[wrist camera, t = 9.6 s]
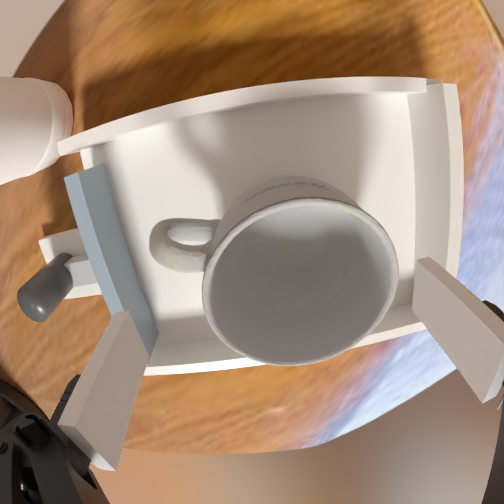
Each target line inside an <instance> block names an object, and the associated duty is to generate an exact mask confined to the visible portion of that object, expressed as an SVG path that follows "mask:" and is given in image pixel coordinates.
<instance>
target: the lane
mask: <svg viewBox="0 0 504 504" xmlns="http://www.w3.org/2000/svg"><path fill="white" fill-rule="evenodd" d="M57 147H58V151H59V156H63V155H67V154H71V153H75V152H80V154H81V158H82V162H83V167H84V170H86V169H89V168H92V167H95V166H98V165H101V164H104V165H105V169H106V173H107V177H108V181H109V185H110V189H111V192H112V196H113V200H114V203H115V207H116V211H117V214H118V218H119V221H120V224H121V228H122V231H123V234H124V238H125V241H126V244H127V247H128V250H129V253H130V256H131V259H132V262H133V265H134V268H135V271H136V274H137V277H138V280H139V282H140V285H141V288H142V291H143V294H144V296H145V299H146V302H147V304H148V307H149V309H150V312H151V315H152V317H153V320H154V322H155V325H156V327H157V330H158V332H159V335H158V338H157V341H156V344H155V346H154V349H153V352H152V355H151V358H150V361H149V363H148V364H147V366H146V369H145V372H144V375H164V374H180V373H193V372H204V371H214V370H224V369H233V368H241V367H249V366H256V365H263V364H265V363H260V362H257V361H254V360H251V359H249V358H247V357H245V356H243V355H241V354H239V353H237V352H235V351H234V350H232V349H231V348H230V347H228V346H227V345H226V344H225V343H223V342H222V341H221V340H220V339H219V338H218V336H217V335H216V334H215V333H214V331H213V330H212V328H211V326H210V325H209V323H208V320H207V318H206V315H205V313H204V309H203V303H202V281H203V275H204V272H194V273H185V272H177V271H174V270H170V269H168V268H166V267H164V266H162V265H160V264H159V263H158V262H157V261H156V260H155V259H154V258H153V257H152V255H151V253H150V250H149V239H150V234H151V231H152V229H153V227H154V226H155V225H156V224H157V223H158V222H160V221H162V220H165V219H170V218H192V219H205V220H211V219H222V218H223V216H224V214H225V213H226V211H227V210H228V208H229V207H230V206H231V205H232V204H233V202H234V201H235V200H236V199H237V198H238V197H240V196H241V195H242V194H243V193H244V192H246V191H247V190H249V189H251V188H252V187H254V186H256V185H258V184H260V183H262V182H264V181H267V180H271V179H274V178H279V177H286V176H303V177H309V178H314V179H317V180H320V181H323V182H326V183H328V184H330V185H332V186H334V187H336V188H337V189H339V190H340V191H342V192H343V193H345V194H346V195H347V196H348V197H350V198H351V199H352V200H353V201H354V202H355V203H356V204H358V205H359V206H360V207H361V208H362V209H363V210H364V211H365V212H367V213H368V214H370V215H371V216H372V217H373V218H375V219H376V220H377V221H378V222H379V223H380V224H381V225H382V227H383V228H384V229H385V231H386V232H387V234H388V235H389V237H390V239H391V241H392V243H393V245H394V248H395V250H396V255H397V259H398V265H399V280H398V286H397V290H396V293H395V297H394V300H393V302H392V304H391V306H390V308H389V310H388V311H387V313H386V314H385V316H384V319H383V320H382V321H381V322H380V324H379V325H378V326H377V327H376V328H375V329H374V330H373V331H372V332H371V333H370V334H369V335H368V336H367V337H365V338H364V339H363V340H362V341H360V342H359V343H358V344H356V345H355V346H354V347H352V348H355V347H359V346H364V345H368V344H372V343H376V342H380V341H384V340H388V339H392V338H396V337H399V336H403V335H407V334H410V333H414V332H417V331H421V330H424V329H427V328H426V327H425V326H424V324H423V323H422V322H421V321H420V319H419V318H418V317H417V316H416V314H415V313H414V312H413V311H412V302H413V292H414V281H415V267H416V260H417V259H421V258H425V257H430V258H432V259H433V260H434V261H435V262H436V263H438V264H439V265H440V266H441V267H443V268H444V269H445V270H446V271H447V272H449V273H450V274H451V275H452V276H453V277H455V278H456V279H457V272H458V264H459V255H460V246H461V234H462V220H463V194H464V168H463V143H462V128H461V117H460V108H459V100H458V92H457V86H456V84H447V83H439V79H431V78H415V77H340V78H323V79H311V80H300V81H290V82H282V83H274V84H266V85H260V86H253V87H247V88H241V89H235V90H230V91H224V92H219V93H214V94H210V95H205V96H200V97H196V98H192V99H187V100H183V101H179V102H175V103H171V104H168V105H164V106H160V107H157V108H153V109H149V110H146V111H143V112H139V113H136V114H133V115H130V116H127V117H123V118H120V119H117V120H114V121H112V122H109V123H106V124H103V125H100V126H97V127H95V128H92V129H89V130H87V131H84V132H82V133H79V134H76V135H74V136H71V137H69V138H67V139H64V140H62V141H59V142H57ZM176 242H179V243H181V244H186V245H202V244H205V243H206V242H195V241H176ZM39 244H40V247H41V250H42V253H43V255H44V258H45V261H46V263H47V264H48V263H49V262H50V261H51V260H52V259H54V258H55V257H56V256H57V255H58V254H60V253H68V254H71V255H72V256H74V257H76V256H81V255H85V254H87V253H86V250H85V247H84V244H83V241H82V238H81V235H80V232H79V229H78V228H74V229H71V230H67V231H63V232H60V233H56V234H52V235H49V236H45V237H43V238H42V239H40V240H39ZM99 294H102V292H101V290H100V287H99V285H98V283H95V284H89V285H83V286H76V287H74V288H73V289H72V290H71V291H70V292H69V293H68V294H67V295H66V297H65V298H64V299H70V298H77V297H85V296H92V295H99ZM427 330H428V329H427ZM430 334H431V333H430ZM431 335H432V334H431ZM433 338H434V337H433ZM434 339H435V338H434ZM350 349H351V348H350ZM144 375H143V376H144Z"/></svg>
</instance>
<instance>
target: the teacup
mask: <svg viewBox="0 0 504 504" xmlns="http://www.w3.org/2000/svg"><path fill="white" fill-rule="evenodd" d="M176 241H195V242H206V243H205V244H202V245H186V244H181V243H179V242H176ZM149 250H150V253H151V255H152V257H153V258H154V259H155V260H156V261H157V262H158V263H159V264H160V265H162V266H164V267H166V268H168V269H170V270H174V271H177V272H185V273H194V272H204V275H203V281H202V303H203V309H204V313H205V315H206V318H207V320H208V323H209V325H210V326H211V328H212V330H213V331H214V333H215V334H216V335H217V336H218V338H219V339H220V340H221V341H222V342H223V343H225V344H226V345H227V346H228V347H230V348H231V349H232V350H234V351H235V352H237V353H239V354H241V355H243V356H245V357H247V358H249V359H251V360H254V361H257V362H260V363H265V364H270V365H276V366H298V365H307V364H313V363H317V362H321V361H324V360H327V359H330V358H333V357H335V356H337V355H339V354H341V353H343V352H345V351H347V350H349V349H350V348H352V347H354V346H355V345H356V344H358V343H359V342H360V341H362V340H363V339H364V338H365V337H367V336H368V335H369V334H370V333H371V332H372V331H373V330H374V329H375V328H376V327H377V326H378V325H379V324H380V322H381V321H382V320H383V319H384V316H385V314H386V313H387V311H388V310H389V308H390V306H391V304H392V302H393V300H394V297H395V293H396V290H397V286H398V280H399V265H398V259H397V255H396V250H395V248H394V245H393V243H392V241H391V239H390V237H389V235H388V234H387V232H386V231H385V229H384V228H383V227H382V225H381V224H380V223H379V222H378V221H377V220H376V219H375V218H373V217H372V216H371V215H370V214H368V213H367V212H365V211H364V210H363V209H362V208H361V207H360V206H359V205H358V204H356V203H355V202H354V201H353V200H352V199H351V198H350V197H348V196H347V195H346V194H345V193H343V192H342V191H340V190H339V189H337V188H336V187H334V186H332V185H330V184H328V183H326V182H323V181H320V180H317V179H314V178H309V177H303V176H286V177H279V178H274V179H271V180H267V181H264V182H262V183H260V184H258V185H256V186H254V187H252V188H251V189H249V190H247V191H246V192H244V193H243V194H242V195H241V196H240V197H238V198H237V199H236V200H235V201H234V202H233V204H232V205H231V206H230V207H229V208H228V210H227V211H226V213H225V214H224V216H223V218H222V219H211V220H205V219H192V218H170V219H165V220H162V221H160V222H158V223H157V224H156V225H155V226H154V227H153V229H152V231H151V234H150V239H149Z"/></svg>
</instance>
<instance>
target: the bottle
mask: <svg viewBox="0 0 504 504" xmlns="http://www.w3.org/2000/svg"><path fill="white" fill-rule="evenodd" d="M72 126H73V112H72V104H71V102H70V100H69V98H68V95H67V93H66V91H64V90H63V89H62V88H61V87H60V86H59V85H58V84H57V83H53V82H49V81H44V80H40V79H35V78H11V77H0V185H1V184H4V183H6V182H9V181H12V180H14V179H17V178H20V177H26V176H29V175H32V174H34V173H36V172H38V171H40V170H43V169H45V168H47V167H49V166H50V165H52V164H54V163H55V162H56V161H57V160H58V159H59V157H60V156H59V151H58V147H57V142H59V141H62V140H64V139H67V138H69V137H71V133H72Z"/></svg>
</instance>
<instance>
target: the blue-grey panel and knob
mask: <svg viewBox="0 0 504 504" xmlns="http://www.w3.org/2000/svg"><path fill="white" fill-rule="evenodd" d="M64 181H65V184H66V188H67V192H68V196H69V199H70V203H71V206H72V210H73V213H74V216H75V220H76V223H77V226H78V229H79V232H80V235H81V238H82V241H83V244H84V247H85V250H86V253H87V254H85V255H81V256H76V257H74V256H72V255H71V254H68V253H60V254H58V255H57V256H56V257H55V258H54V259H52V260H51V261H50V262H49V263H48V264H47V265H45V266H44V267H43V268H42V269H41V270H40V271H39V272H37V273H36V274H35V275H34V276H33V277H32V278H31V279H30V280H29V281H27V282H26V283H25V284H24V285H23V286H22V287H21V288H20V289H19V290H18V293H17V299H18V303H19V306H20V308H21V309H22V311H23V312H24V313H25V315H26V316H28V317H29V318H30V319H32V320H33V321H36V322H43V321H45V320H46V319H47V318H48V317H49V315H50V314H51V313H52V312H53V311H54V309H55V308H56V307H57V306H58V305H59V303H60V302H61V301H62V300H63V299H64V298H65V297H66V295H67V294H68V293H69V292H70V291H71V290H72V289H73V288H74V287H76V286H83V285H89V284H95V283H98V285H99V287H100V290H101V292H102V294H103V297H104V299H105V302H106V304H107V306H108V309H109V311H110V313H111V315H112V317H113V315H114V313H116V312H124V311H130V314H131V316H132V319H133V321H134V323H135V326H136V328H137V330H138V333H139V335H140V337H141V339H142V342H143V344H144V346H145V348H146V350H147V353H148V355H149V360H148V363H149V361H150V358H151V355H152V352H153V349H154V346H155V344H156V341H157V338H158V335H159V332H158V330H157V327H156V325H155V322H154V320H153V317H152V315H151V312H150V309H149V307H148V304H147V302H146V299H145V296H144V294H143V291H142V288H141V285H140V282H139V280H138V277H137V274H136V271H135V268H134V265H133V262H132V259H131V256H130V253H129V250H128V247H127V244H126V241H125V238H124V234H123V231H122V228H121V224H120V221H119V218H118V214H117V211H116V207H115V203H114V200H113V196H112V192H111V189H110V185H109V181H108V177H107V173H106V169H105V165H104V164H101V165H98V166H95V167H92V168H89V169H86V170H83V171H80V172H77V173H75V174H72V175H69V176H67V177H64ZM148 363H147V364H148Z"/></svg>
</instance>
